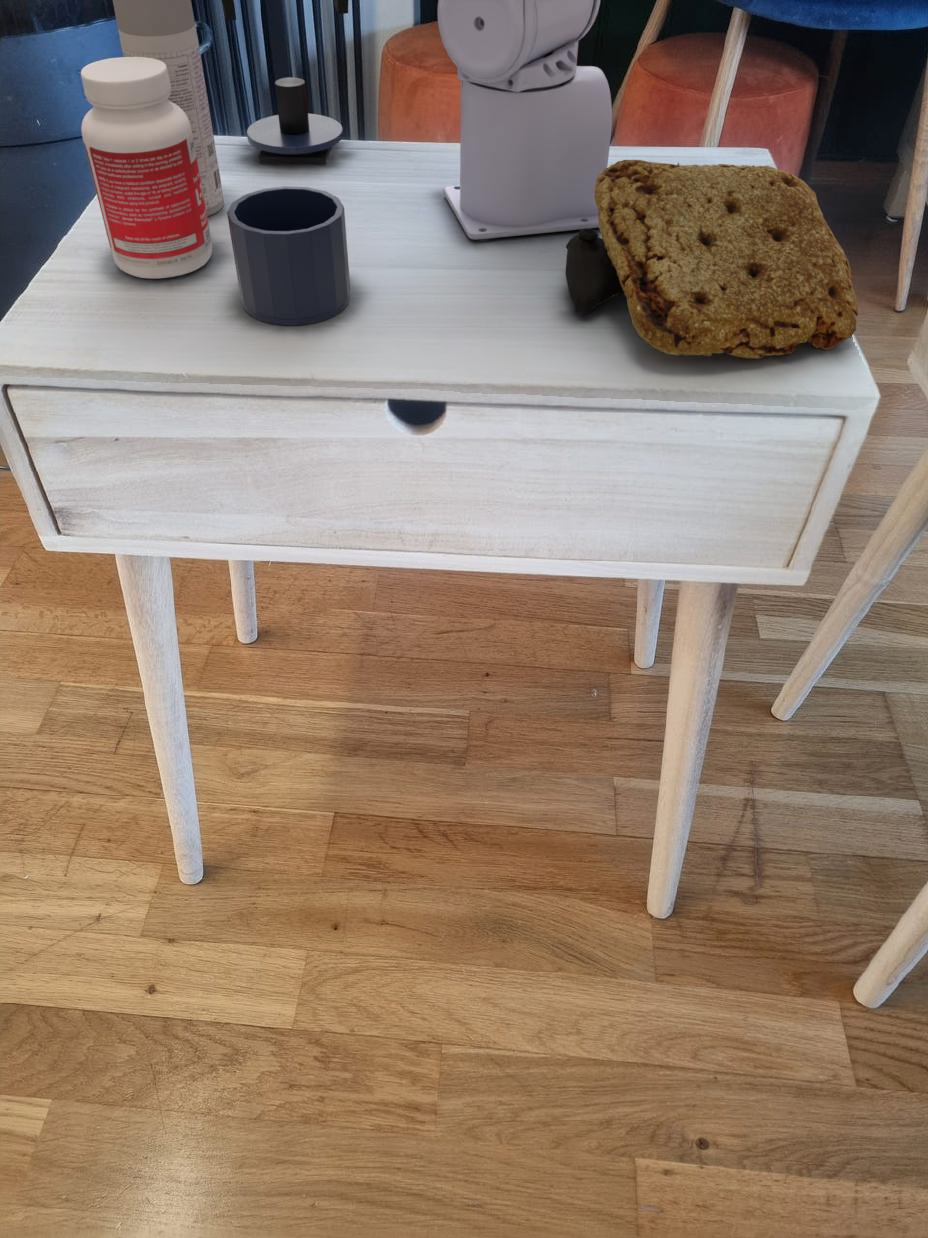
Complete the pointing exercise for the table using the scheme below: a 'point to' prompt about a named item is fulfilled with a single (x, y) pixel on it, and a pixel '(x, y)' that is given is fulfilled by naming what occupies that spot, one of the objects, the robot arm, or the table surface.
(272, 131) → the lid
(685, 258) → the pastry
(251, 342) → the table surface
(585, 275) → the gaming controller
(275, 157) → the coaster
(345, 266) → the tin
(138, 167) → the pill bottle
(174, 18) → the container
